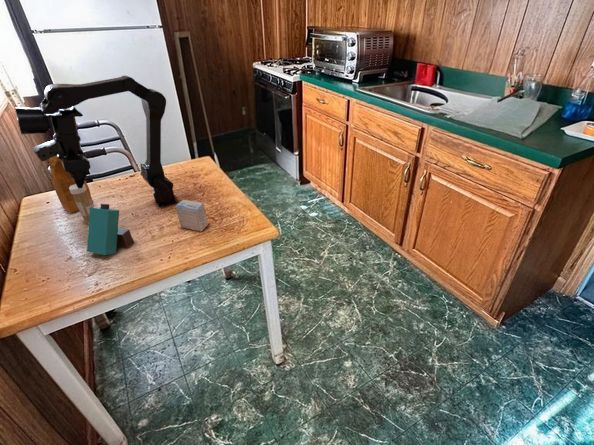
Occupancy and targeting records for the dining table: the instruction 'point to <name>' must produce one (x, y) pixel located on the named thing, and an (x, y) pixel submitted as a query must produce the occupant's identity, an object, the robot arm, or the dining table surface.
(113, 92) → the robot arm
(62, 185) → the coffee package
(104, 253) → the plastic bottle
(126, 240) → the walnut block
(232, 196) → the dining table surface
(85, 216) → the sprinkles bottle
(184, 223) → the medicine box
